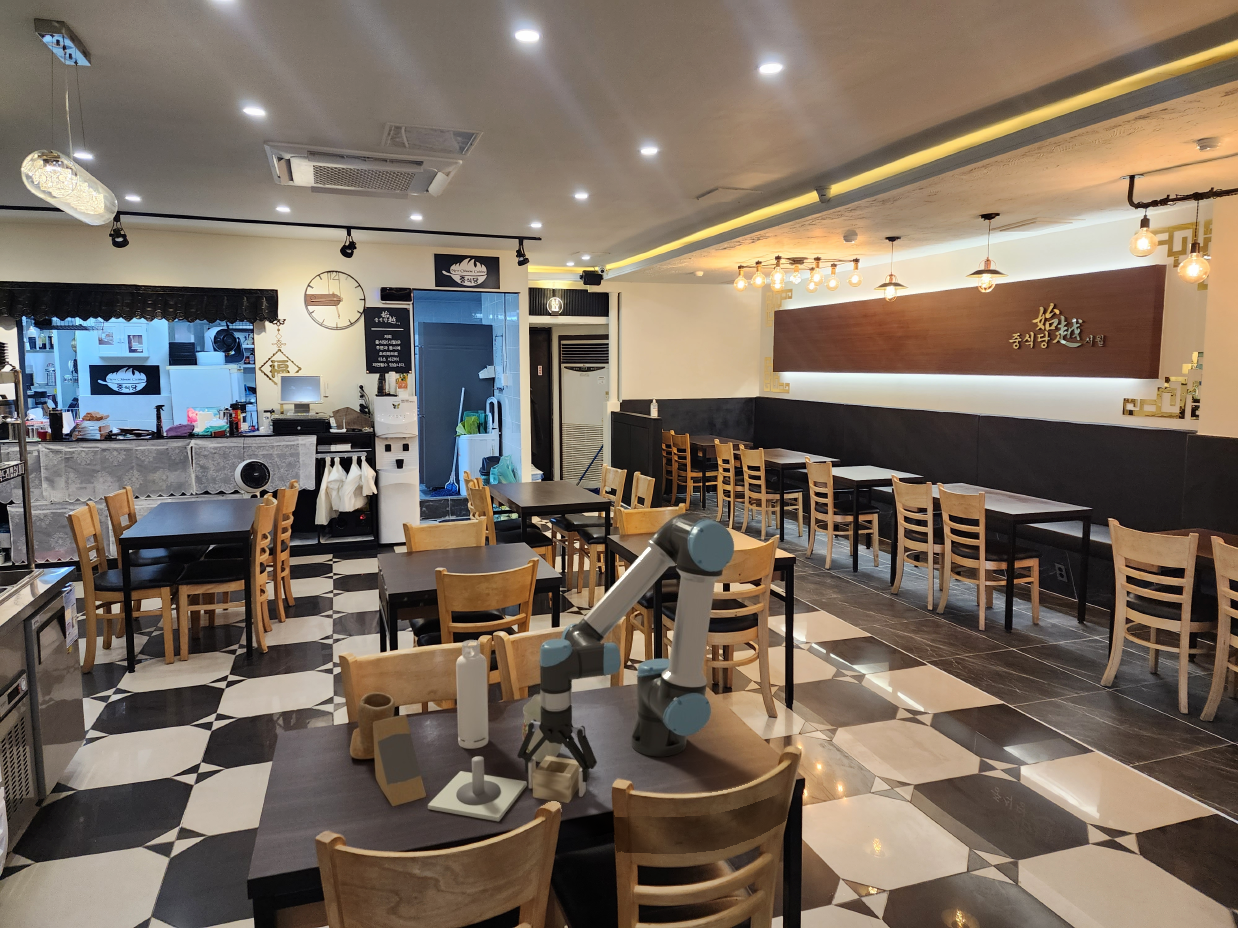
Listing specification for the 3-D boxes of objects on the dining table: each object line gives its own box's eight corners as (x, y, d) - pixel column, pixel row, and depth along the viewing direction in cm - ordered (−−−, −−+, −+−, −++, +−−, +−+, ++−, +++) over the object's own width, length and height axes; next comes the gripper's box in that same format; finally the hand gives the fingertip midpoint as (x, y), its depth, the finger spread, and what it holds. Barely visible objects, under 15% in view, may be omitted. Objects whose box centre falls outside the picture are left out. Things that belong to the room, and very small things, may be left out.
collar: (581, 783, 194) (580, 760, 193) (568, 802, 185) (568, 778, 185) (546, 778, 196) (546, 755, 196) (532, 796, 188) (532, 773, 187)
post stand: (526, 785, 193) (526, 748, 192) (498, 821, 178) (498, 781, 177) (460, 774, 198) (459, 738, 197) (427, 808, 183) (426, 770, 182)
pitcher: (529, 777, 197) (528, 725, 195) (518, 744, 214) (517, 696, 212) (572, 771, 200) (571, 719, 198) (557, 739, 217) (557, 691, 215)
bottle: (491, 735, 219) (489, 638, 216) (483, 749, 211) (481, 648, 208) (463, 733, 220) (460, 637, 217) (454, 747, 212) (451, 647, 209)
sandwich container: (391, 807, 184) (389, 746, 182) (374, 778, 197) (371, 721, 195) (427, 796, 188) (425, 737, 186) (408, 769, 201) (406, 713, 199)
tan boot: (395, 759, 206) (393, 704, 204) (347, 764, 203) (345, 709, 202) (398, 733, 221) (396, 682, 219) (353, 737, 218) (351, 686, 216)
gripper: (609, 704, 188) (609, 788, 191) (515, 692, 195) (516, 774, 198) (600, 717, 181) (600, 805, 184) (502, 705, 188) (504, 789, 191)
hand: (557, 789), depth 191 cm, fingers open, 12 cm apart
